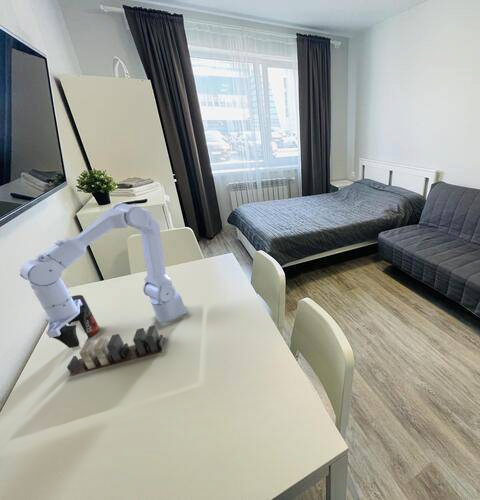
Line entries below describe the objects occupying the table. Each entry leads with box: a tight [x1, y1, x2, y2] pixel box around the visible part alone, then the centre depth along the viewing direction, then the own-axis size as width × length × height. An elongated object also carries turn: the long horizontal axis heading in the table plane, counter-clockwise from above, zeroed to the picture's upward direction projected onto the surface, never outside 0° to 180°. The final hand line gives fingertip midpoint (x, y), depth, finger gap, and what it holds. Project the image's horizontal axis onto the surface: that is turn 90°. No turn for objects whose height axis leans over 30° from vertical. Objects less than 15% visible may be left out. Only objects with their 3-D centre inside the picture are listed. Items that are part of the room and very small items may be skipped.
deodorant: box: [71, 294, 101, 339], centre depth 91 cm, size 6×6×15 cm
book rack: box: [66, 324, 166, 378], centre depth 83 cm, size 24×7×8 cm, turn 112°
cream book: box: [68, 321, 89, 351], centre depth 77 cm, size 2×5×6 cm, turn 22°
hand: (78, 339), depth 78 cm, fingers closed on cream book, 5 cm apart
